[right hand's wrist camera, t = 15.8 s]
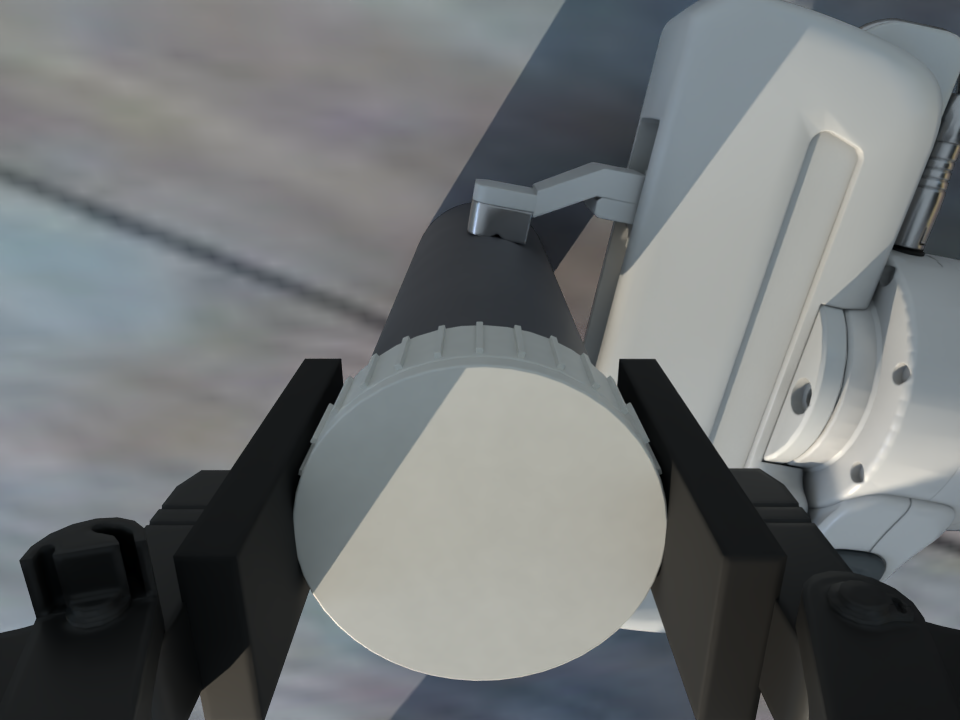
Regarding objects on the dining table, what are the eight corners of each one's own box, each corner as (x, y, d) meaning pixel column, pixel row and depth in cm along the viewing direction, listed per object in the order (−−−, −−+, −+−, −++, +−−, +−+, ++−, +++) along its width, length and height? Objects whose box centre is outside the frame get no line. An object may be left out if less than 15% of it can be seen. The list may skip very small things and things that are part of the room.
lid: (520, 247, 11) (527, 276, 9) (707, 508, 12) (743, 573, 11) (244, 445, 12) (205, 502, 10) (449, 656, 14) (444, 736, 12)
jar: (567, 293, 28) (686, 563, 12) (454, 350, 29) (422, 673, 13) (508, 177, 26) (552, 304, 10) (390, 241, 27) (259, 453, 11)
